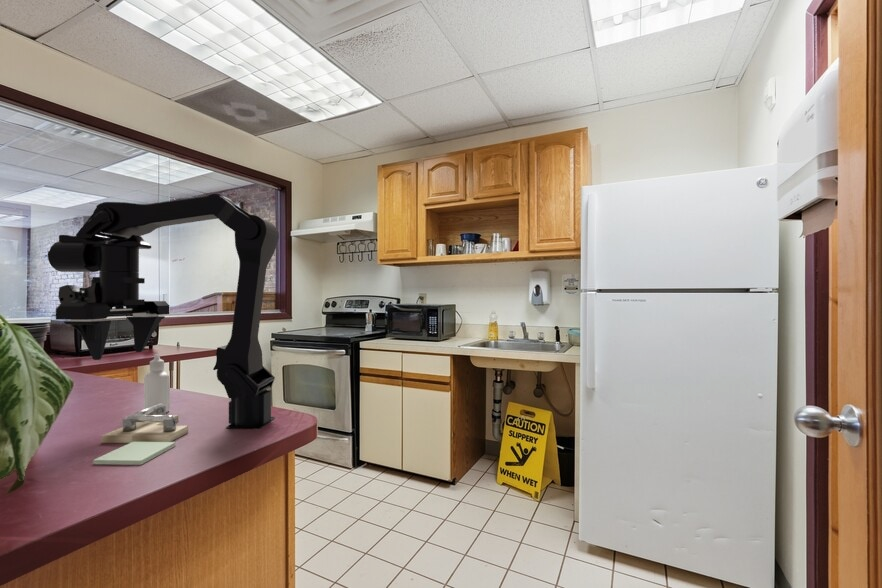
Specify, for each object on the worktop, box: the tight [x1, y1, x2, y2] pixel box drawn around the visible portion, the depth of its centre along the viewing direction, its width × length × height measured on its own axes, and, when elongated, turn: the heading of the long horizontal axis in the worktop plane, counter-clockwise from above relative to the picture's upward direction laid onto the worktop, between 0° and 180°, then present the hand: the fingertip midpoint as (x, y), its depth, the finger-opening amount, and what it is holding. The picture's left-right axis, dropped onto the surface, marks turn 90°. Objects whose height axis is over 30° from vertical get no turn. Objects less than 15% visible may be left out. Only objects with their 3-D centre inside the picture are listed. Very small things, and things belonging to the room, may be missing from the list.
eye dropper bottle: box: [143, 353, 171, 415], centre depth 81 cm, size 4×6×12 cm
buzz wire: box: [101, 404, 189, 444], centre depth 69 cm, size 11×11×4 cm
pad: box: [93, 441, 176, 466], centre depth 59 cm, size 7×7×1 cm
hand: (119, 355), depth 73 cm, fingers open, 9 cm apart
